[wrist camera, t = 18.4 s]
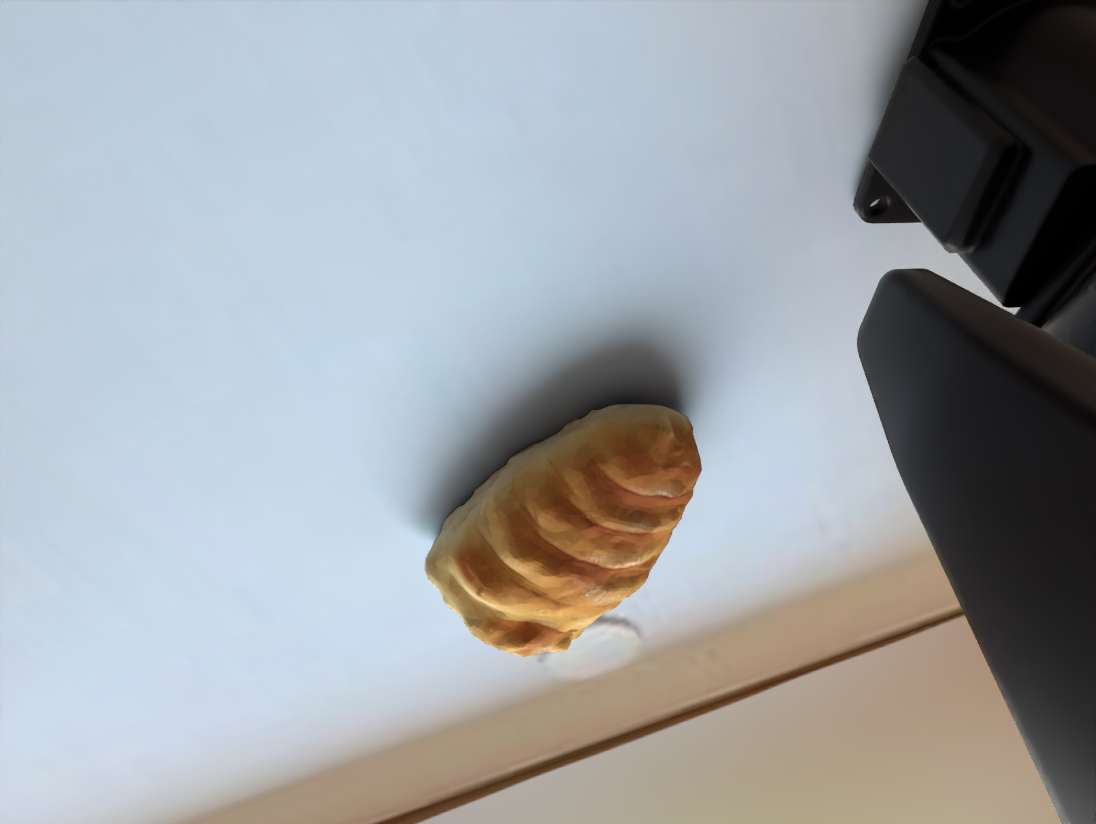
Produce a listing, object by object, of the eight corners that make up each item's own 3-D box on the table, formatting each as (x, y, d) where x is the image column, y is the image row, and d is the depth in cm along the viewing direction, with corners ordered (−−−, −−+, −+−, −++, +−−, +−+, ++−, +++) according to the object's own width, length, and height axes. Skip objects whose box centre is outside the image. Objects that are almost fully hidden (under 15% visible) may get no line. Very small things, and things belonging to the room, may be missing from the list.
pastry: (574, 352, 28) (610, 449, 25) (738, 421, 32) (784, 512, 29) (406, 551, 32) (421, 651, 30) (566, 591, 36) (592, 683, 33)
